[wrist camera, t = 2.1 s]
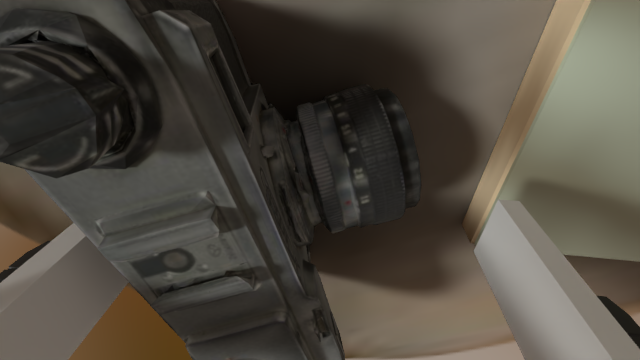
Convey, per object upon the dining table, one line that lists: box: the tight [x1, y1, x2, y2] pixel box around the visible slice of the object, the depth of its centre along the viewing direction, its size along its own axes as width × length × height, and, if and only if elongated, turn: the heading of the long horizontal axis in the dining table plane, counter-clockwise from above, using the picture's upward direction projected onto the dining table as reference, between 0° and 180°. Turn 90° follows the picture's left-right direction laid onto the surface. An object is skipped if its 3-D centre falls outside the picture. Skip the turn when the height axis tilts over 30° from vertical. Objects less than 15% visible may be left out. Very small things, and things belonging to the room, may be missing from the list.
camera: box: [0, 0, 421, 360], centre depth 11 cm, size 18×9×10 cm, turn 15°
